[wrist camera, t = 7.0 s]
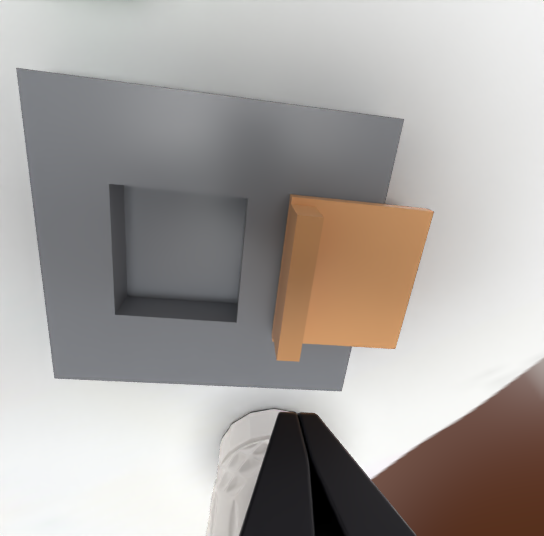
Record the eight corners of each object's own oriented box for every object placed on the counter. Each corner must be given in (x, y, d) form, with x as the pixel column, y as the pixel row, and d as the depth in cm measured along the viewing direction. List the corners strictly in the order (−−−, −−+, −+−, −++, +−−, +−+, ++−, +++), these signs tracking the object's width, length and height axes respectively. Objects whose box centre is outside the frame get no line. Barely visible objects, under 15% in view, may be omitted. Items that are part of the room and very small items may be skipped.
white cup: (285, 380, 23) (314, 557, 13) (348, 452, 25) (409, 641, 16) (186, 440, 24) (151, 641, 15) (256, 503, 27) (264, 706, 17)
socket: (75, 349, 21) (54, 378, 18) (49, 75, 16) (16, 67, 13) (331, 363, 22) (341, 391, 20) (382, 119, 17) (403, 119, 15)
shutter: (271, 334, 18) (275, 366, 16) (290, 194, 16) (298, 206, 13) (390, 342, 19) (411, 373, 16) (427, 208, 16) (457, 223, 14)
